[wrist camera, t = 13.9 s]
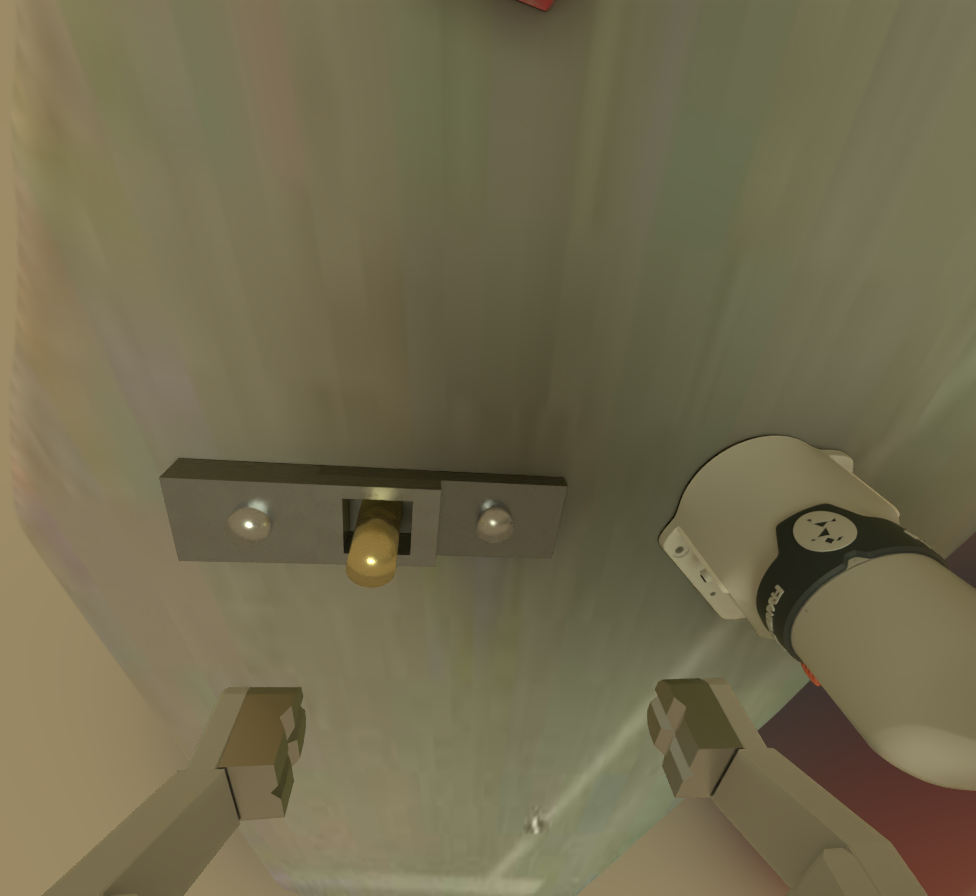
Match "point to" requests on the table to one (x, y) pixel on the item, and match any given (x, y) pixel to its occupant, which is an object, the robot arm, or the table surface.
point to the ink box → (539, 3)
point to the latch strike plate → (325, 512)
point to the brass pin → (375, 543)
